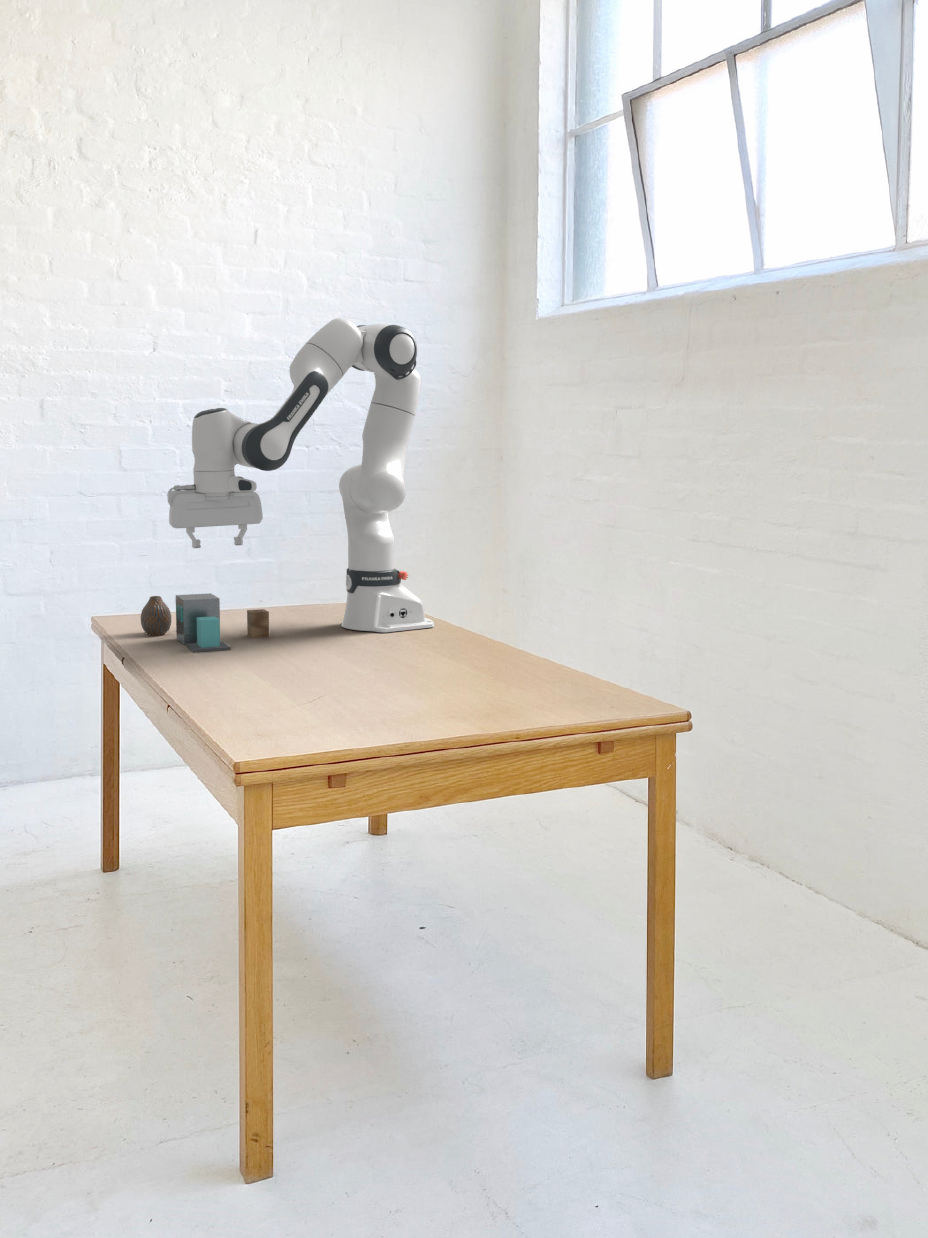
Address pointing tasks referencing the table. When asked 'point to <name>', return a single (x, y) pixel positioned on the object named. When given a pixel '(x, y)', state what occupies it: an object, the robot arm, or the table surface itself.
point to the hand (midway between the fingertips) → (217, 546)
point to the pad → (197, 648)
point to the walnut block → (258, 623)
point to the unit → (194, 614)
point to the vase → (156, 617)
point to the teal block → (208, 632)
